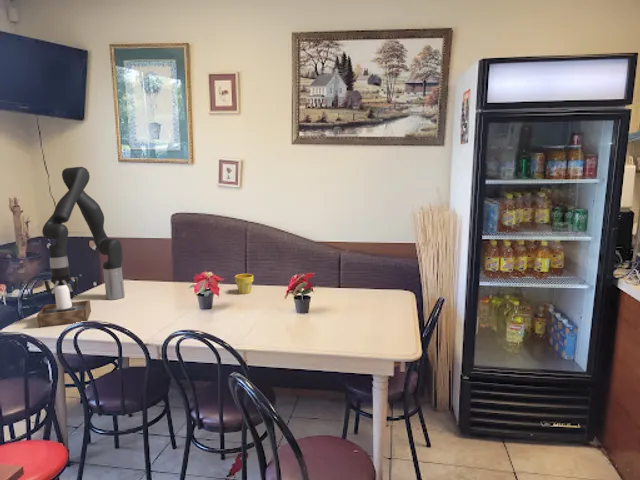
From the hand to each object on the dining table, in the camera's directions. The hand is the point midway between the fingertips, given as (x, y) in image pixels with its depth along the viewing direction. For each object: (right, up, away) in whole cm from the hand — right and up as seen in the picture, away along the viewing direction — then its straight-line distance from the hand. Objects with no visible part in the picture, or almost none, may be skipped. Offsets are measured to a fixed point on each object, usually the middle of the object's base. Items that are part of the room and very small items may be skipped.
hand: (63, 299), depth 215 cm
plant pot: (+80, -1, +41) cm, 90 cm away
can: (0, -4, +1) cm, 4 cm away
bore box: (0, -10, +2) cm, 10 cm away
